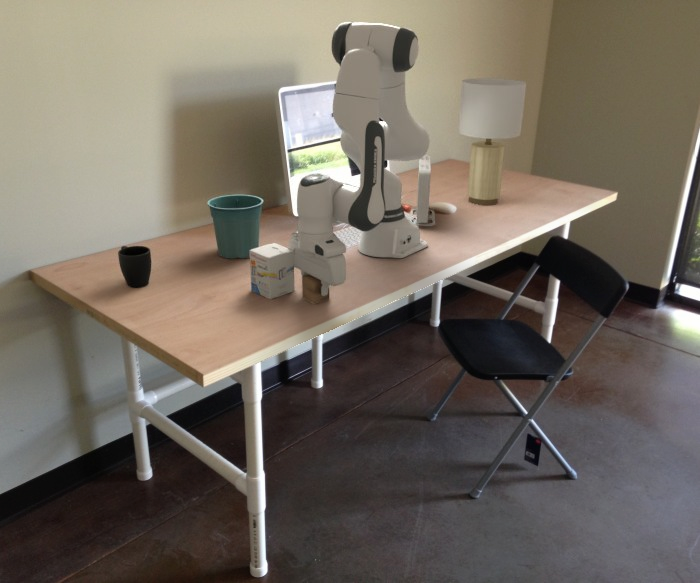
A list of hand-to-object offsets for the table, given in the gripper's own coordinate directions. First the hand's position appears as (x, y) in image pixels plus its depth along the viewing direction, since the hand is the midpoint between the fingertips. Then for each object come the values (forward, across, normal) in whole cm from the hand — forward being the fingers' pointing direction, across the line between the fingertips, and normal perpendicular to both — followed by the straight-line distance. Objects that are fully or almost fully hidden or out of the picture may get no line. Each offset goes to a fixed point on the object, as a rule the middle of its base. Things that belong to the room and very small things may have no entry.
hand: (315, 290), depth 175 cm
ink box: (+2, -11, -6) cm, 13 cm away
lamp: (+2, -34, +106) cm, 111 cm away
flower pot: (+2, -42, +2) cm, 42 cm away
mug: (+2, -39, -32) cm, 51 cm away
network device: (+2, -33, +72) cm, 79 cm away
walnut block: (+2, 0, 0) cm, 2 cm away
